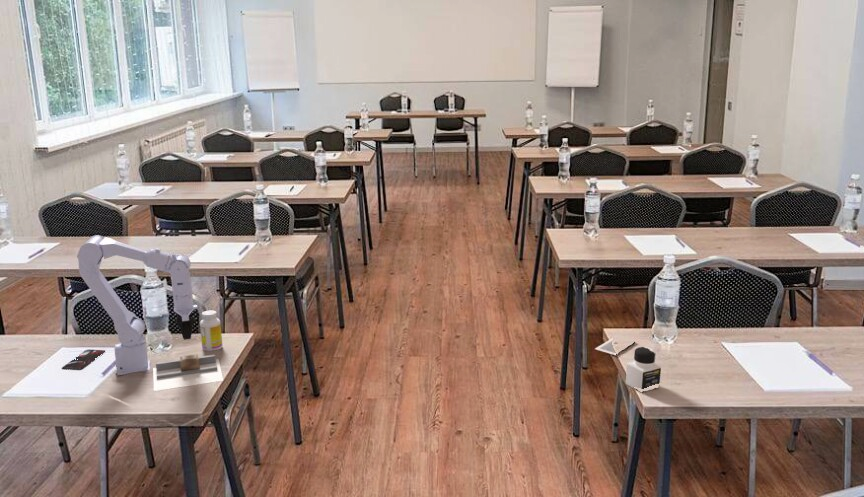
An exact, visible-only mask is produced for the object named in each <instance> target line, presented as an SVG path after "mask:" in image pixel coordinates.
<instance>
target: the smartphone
mask: <svg viewBox="0 0 864 497" xmlns="http://www.w3.org/2000/svg"><path fill="white" fill-rule="evenodd" d="M105 351H106V350H105V349H85V350H84V351H82V352H81V353H80V354H79V356H78V355H77V356H78V357H77V356H75V358H76V360H75V359H74V358H73V359H74V360H73V359H72V360H70V361H69V362H67V363H66V364H65V365H63V366H62V367H61V370H67V369H68V370H69V369H70V370H72V371H82V370H84V369H85V368H87V367H88V366H89V365H90V364H92V363H93V362H94V361H96V360H95V358H97V357H98V356H100V355H101V354H102V355H104V354H105V353H106V352H105ZM104 352H105V353H104ZM103 353H104V354H103ZM102 355H101V356H102ZM101 356H100V357H101ZM77 359H78V360H77ZM97 359H98V358H97ZM91 362H92V363H91ZM68 370H67V371H68ZM70 370H69V371H70Z"/></svg>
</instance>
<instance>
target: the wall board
mask: <svg viewBox="0 0 864 497" xmlns="http://www.w3.org/2000/svg"><path fill="white" fill-rule="evenodd" d="M198 357H199V366H200V369H195V370H188V371H181V364H180V359H174V360H173V359H172V360H167V361H161V362H155V367H153V368H152V371H153V372H152V375H153V378H152V379H153V392H158V391H159V392H160V391H164V390H172V389H177V388H178V389H179V388H185V387H191V386H197V385H203V384H204V385H205V384H210V383H217V382H218V383H219V382H224V378H223V374H222V369H221V364H220V358H216V354H210V355H203V356H198Z"/></svg>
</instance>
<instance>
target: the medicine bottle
mask: <svg viewBox="0 0 864 497" xmlns="http://www.w3.org/2000/svg"><path fill="white" fill-rule="evenodd" d="M633 355H634V356H633V361H628V362H627V363H626V374H625V376H626V377H625V384H626V386H628V387H630V388H632V389H634V388H633V386H634V387H637V388H641V389H644V388H647V387H649V386H652V385H655V384H659V383H661V371H662V366H661V365H659V364H656V351H655V349H653V348H651V347H647V346H640V347H637V348H635V350H634V354H633Z"/></svg>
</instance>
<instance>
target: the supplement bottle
mask: <svg viewBox="0 0 864 497" xmlns="http://www.w3.org/2000/svg"><path fill="white" fill-rule="evenodd" d="M217 313H218V312H217V311H216V310H210V309H209V310H205V311H202V313H201V317H202V319H201V320H200V322H199V329H200V340H201V347H202V350H204V351H217V350H221V349H222V348H223V336H222V325H221V324H222V323H221V320H220V318H218V317H217Z"/></svg>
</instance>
